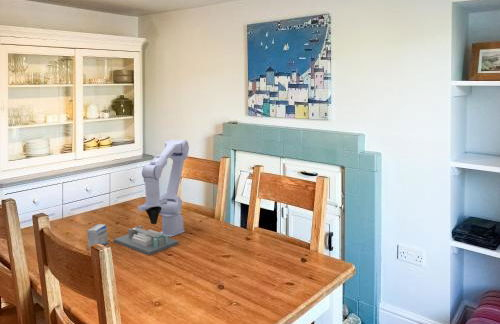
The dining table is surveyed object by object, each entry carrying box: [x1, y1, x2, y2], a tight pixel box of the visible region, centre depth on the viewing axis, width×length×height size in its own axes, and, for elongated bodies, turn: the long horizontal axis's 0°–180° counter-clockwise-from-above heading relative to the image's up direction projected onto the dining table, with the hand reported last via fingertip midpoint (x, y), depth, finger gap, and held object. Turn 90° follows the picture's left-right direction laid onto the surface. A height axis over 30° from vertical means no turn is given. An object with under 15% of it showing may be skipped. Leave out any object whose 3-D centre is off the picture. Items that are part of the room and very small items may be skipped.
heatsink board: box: [113, 224, 180, 256], centre depth 187 cm, size 16×24×6 cm, turn 52°
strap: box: [131, 226, 163, 239], centre depth 186 cm, size 17×4×1 cm, turn 53°
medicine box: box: [86, 223, 108, 250], centre depth 182 cm, size 8×4×9 cm, turn 168°
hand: (153, 223), depth 184 cm, fingers closed
